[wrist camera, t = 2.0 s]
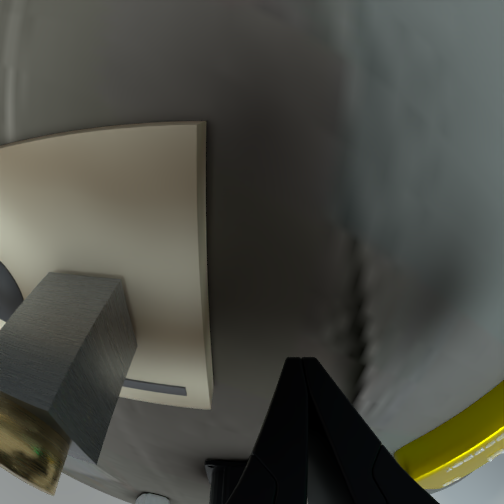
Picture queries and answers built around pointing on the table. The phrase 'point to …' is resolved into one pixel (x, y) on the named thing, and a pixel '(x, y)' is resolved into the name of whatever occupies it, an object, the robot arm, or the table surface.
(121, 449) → the table surface
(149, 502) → the photo printer
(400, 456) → the element tile
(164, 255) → the bolt plate
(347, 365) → the table surface
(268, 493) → the robot arm
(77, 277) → the sliding leg
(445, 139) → the table surface
